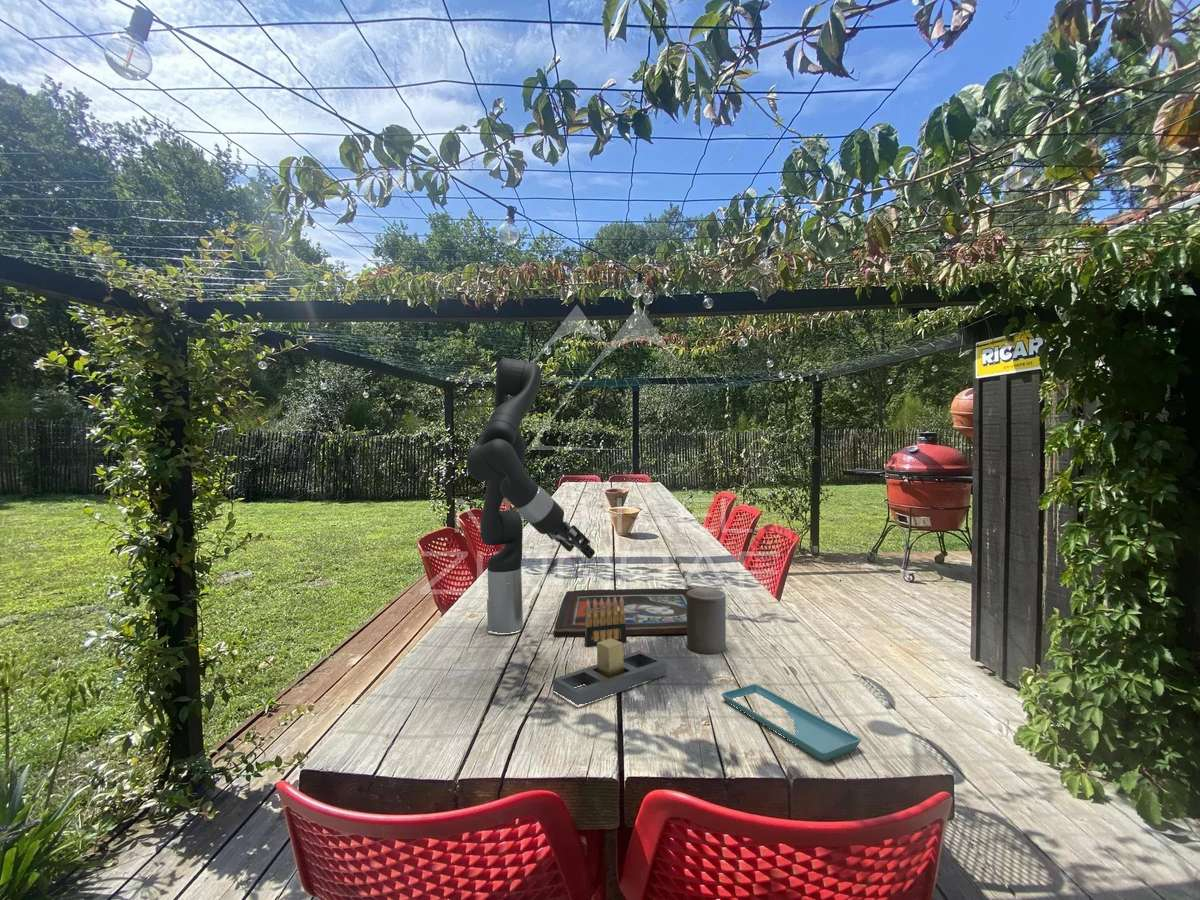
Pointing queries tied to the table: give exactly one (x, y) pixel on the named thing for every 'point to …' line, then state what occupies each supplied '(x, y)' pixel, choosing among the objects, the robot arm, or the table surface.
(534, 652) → the table surface
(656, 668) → the rack rail
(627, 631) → the religious icon
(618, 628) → the ammunition clip
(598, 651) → the brass peg
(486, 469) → the robot arm
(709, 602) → the pillar candle
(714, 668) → the table surface
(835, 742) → the rectangular tray
